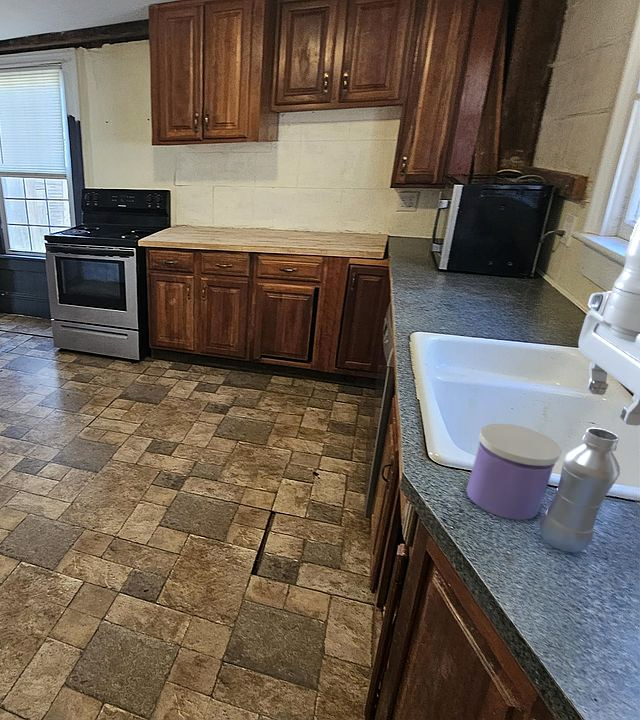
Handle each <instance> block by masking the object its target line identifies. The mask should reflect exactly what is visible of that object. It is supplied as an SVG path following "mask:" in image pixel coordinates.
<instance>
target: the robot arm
mask: <svg viewBox="0 0 640 720" xmlns="http://www.w3.org/2000/svg"><path fill="white" fill-rule="evenodd" d="M587 307H588V308H589V309H590V310H588V311H587V313H586V316H585V318H584V321H583V323H582V327H581V330H580V334H579V337H578V350H579V352H580V353H581V354H582V355H583V356H585V357H586V358H587V359H588V360H589V361H590V362H589V365H588V373H589V376H588V377H589V381H588V383H587V386H586V389H587V390H588V391H589V392H590V393H591V394H592V395H598V396H603V395H605V394H606V393H607V389H608V387H609V383H607V378H608V375H609V376H611V378H613V379H614V380H616V381H617V382H618V383H620V384H621V385H622V386H623V387H625V388H626V389H628V390H629V391H630V392H632V393H633V395H632V397H631V401H633V402H632V404H631V405H629V407H622V408H623V409H622V410H621V414H620V416H619V418H620V419H621V420H622V421H623V422H624V423H625V424H626V425H628V426H635V427H636V426H640V217H639V218H638V221H637V223H636V224H635V226H634V229H633V231H632V233H631V236H630V238H629V242H628V244H627V247H626V249H625V252H624V265H623V269H622V270H621V272H620V274H619V275H618V276H617V278H616V279H615V281H614V283H613V285H612V288H611V290H610V291H602V292H593V293H591V295H590V296H589V299H588V302H587Z"/></svg>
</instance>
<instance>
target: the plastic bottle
mask: <svg viewBox="0 0 640 720" xmlns="http://www.w3.org/2000/svg"><path fill="white" fill-rule="evenodd" d="M581 442H582V444H580V445H576V446H575V447H574V448H571V449H570V450H569V451H568V452H567V453H566V454H565V455H564V457H563V459H562V460H563V461H562V465H561V472H560V478H559V482H558V485H557V488H556V492H555V494H554V496H553V498H552V500H551V502H550V504H549V506H548V507H547V509H546V510H545V511H544V513H543V515H542V516H541V518H540V519H539V523H538V524H539V525H538V532H539V534H540V536H541V539H543V540H544V541H545V542H546V543H547V544H548V545H550V546H552V547H554V548H555V549H558V550H560V551H564V552H568V553H578V552H579V553H580V552H583V551H584V550H586V549H587V548H588V547H589V545H590V544H591V543H592V541H593V537H594V532H595V524H596V520H597V517H598V514H599V510H600V508H601V506H602V504H603V502H604V500H605V498H606V496H607V494H608V493H609V492H610V490H611V489H612V487H613V486H614V484H615V483H616V481H617V480H618V478H619V476H620V474H621V472H620V470H621V469H620V468H621V467H620V465H619V462H618V460H617V458H616V456H615V454H614V452H615V451H616V450H617V448H618V443H619V436H618V434H615V433H614V432H612V431H609V430H608V429H607V430H606V429H603V428H597V427H588V428H587V429H586V431H585V434H584V436H583V437H582V439H581Z"/></svg>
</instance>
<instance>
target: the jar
mask: <svg viewBox="0 0 640 720" xmlns="http://www.w3.org/2000/svg"><path fill="white" fill-rule="evenodd" d="M478 438H479V443H478V446H477V450H476V453H475V456H474V461H473V464H472V467H471V471H470V475H469V478H468V482H467V485H466V490H465V491H466V494H467V496H468V498H469V500H470V501H471V502H473V503H474V504H475V505H476V506H477V507H479V508H481V509H482V510H484V511H486V512H488V513H491V514H492V515H495V516H498V517H501V518H504V519H510V520H516V521H526V520H531V519H533V518H535V517H536V516H537V515H538V514H539V511H540V508H541V505H542V502H543V499H544V496H545V494H546V490H547V488H548V486H549V482H550V479H551V478H552V477H551V476H552V473H553V471H554V468H555V466H556V464H557V463H558V462H559V460H560V457H561V455H562V448H561V447H560V445H559V444H558V443H557V442H556V441H555V440H554V439H552V438H550V437H549V436H547V435H545V434H543V433H541V432H539V431H537V430H533V429H531V428H527V427H524V426H521V425H515V424H509V423H491V424H486V425H484V426H483V427H482V428H481V429H480V432H479V436H478Z"/></svg>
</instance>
